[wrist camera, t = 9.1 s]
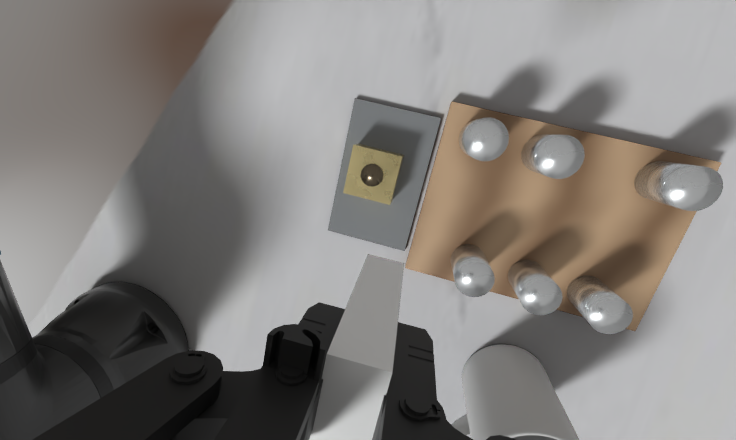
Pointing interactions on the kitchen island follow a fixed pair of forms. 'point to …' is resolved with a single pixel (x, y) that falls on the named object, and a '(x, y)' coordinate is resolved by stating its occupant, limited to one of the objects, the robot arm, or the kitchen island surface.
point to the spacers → (560, 161)
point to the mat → (415, 143)
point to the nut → (373, 173)
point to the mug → (511, 398)
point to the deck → (550, 212)
